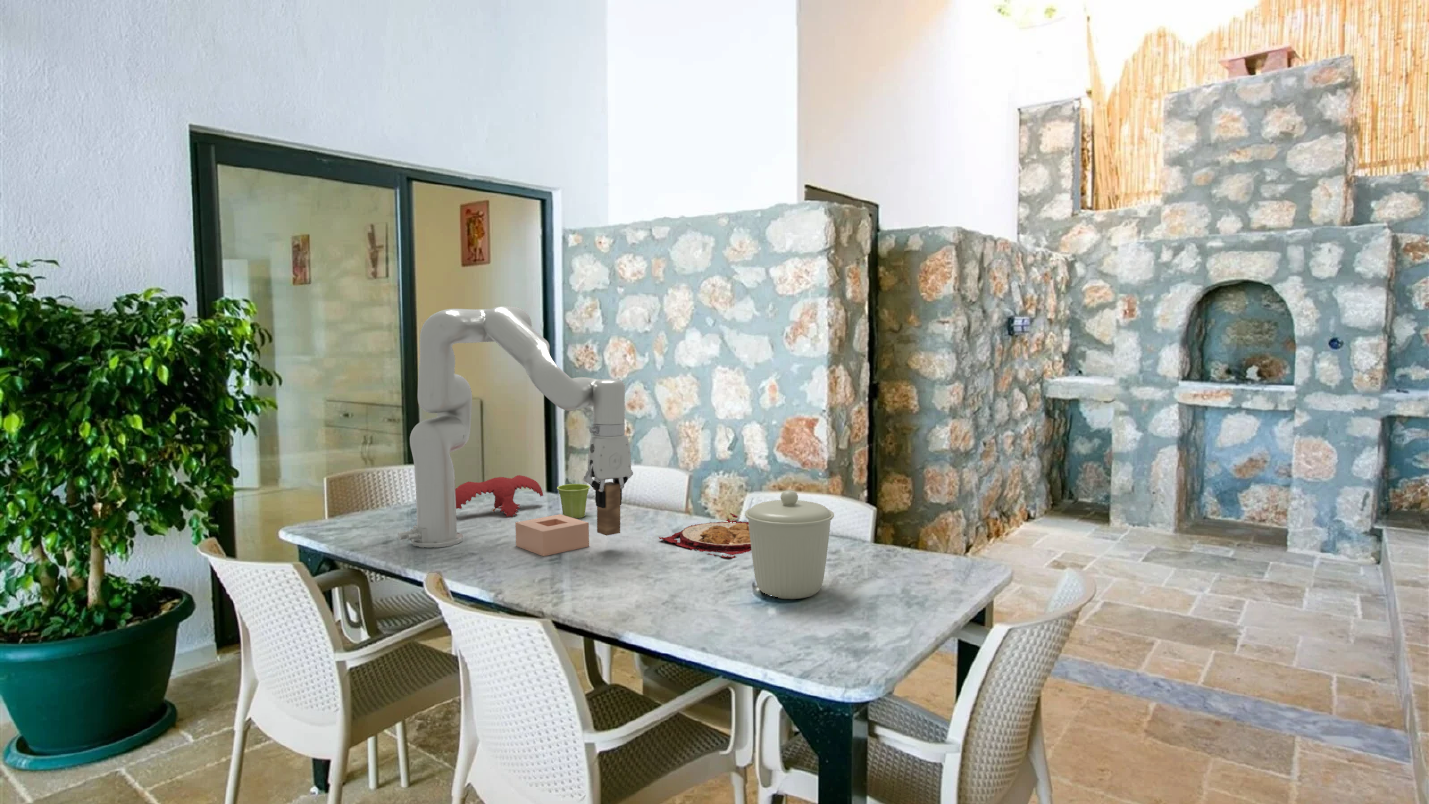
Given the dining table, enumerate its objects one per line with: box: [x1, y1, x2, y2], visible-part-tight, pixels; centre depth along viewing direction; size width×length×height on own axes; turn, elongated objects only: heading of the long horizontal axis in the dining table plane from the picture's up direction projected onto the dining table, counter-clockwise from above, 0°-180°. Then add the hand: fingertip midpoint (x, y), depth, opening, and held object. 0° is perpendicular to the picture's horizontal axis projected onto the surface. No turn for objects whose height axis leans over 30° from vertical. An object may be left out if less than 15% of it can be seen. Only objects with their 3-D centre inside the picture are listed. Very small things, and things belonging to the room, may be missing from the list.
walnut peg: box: [596, 481, 621, 537], centre depth 204 cm, size 4×4×12 cm
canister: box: [744, 489, 835, 600], centre depth 172 cm, size 18×18×21 cm
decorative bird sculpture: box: [455, 474, 544, 518], centre depth 247 cm, size 28×9×15 cm
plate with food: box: [658, 512, 752, 559], centre depth 215 cm, size 25×26×4 cm
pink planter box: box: [515, 513, 590, 557], centre depth 210 cm, size 13×13×6 cm
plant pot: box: [556, 483, 591, 519], centre depth 242 cm, size 9×9×9 cm
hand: (608, 504), depth 204 cm, fingers closed on walnut peg, 4 cm apart
